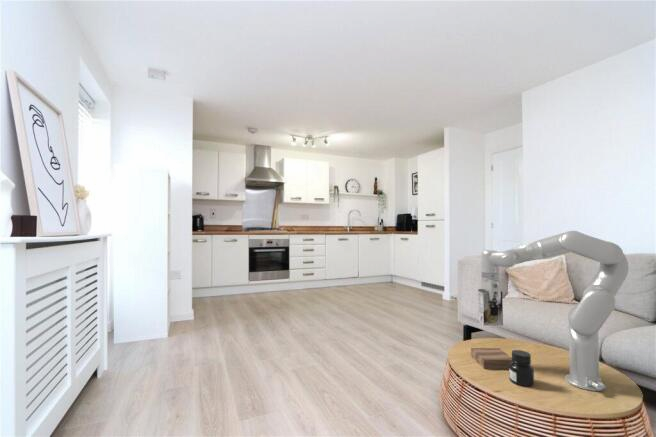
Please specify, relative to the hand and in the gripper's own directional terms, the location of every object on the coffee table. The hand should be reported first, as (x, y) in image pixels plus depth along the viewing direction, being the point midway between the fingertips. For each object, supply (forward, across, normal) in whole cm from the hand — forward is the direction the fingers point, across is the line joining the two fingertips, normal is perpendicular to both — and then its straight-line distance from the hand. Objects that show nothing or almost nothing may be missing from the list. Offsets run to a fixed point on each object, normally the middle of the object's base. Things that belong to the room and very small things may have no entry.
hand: (490, 312), depth 152 cm
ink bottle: (+24, -19, -4) cm, 31 cm away
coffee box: (+5, 0, 0) cm, 5 cm away
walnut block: (+24, 0, 0) cm, 24 cm away
